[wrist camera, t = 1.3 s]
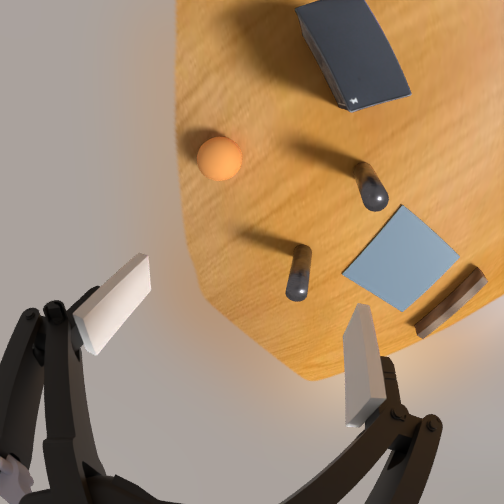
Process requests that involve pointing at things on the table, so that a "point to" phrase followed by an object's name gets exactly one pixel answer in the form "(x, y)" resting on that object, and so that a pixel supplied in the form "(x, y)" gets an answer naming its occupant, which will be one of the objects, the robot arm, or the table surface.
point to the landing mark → (402, 260)
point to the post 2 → (370, 187)
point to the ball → (219, 158)
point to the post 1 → (299, 274)
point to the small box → (352, 53)
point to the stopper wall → (451, 303)
